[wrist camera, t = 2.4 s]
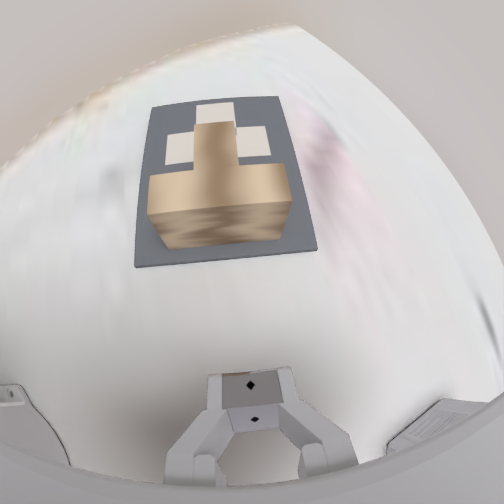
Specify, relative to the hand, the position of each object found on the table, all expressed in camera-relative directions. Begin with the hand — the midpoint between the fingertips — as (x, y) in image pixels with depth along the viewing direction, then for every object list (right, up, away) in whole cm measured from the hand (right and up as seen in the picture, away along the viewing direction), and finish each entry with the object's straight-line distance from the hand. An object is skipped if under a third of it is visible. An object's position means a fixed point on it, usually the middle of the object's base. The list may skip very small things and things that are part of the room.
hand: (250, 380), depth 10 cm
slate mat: (-4, +16, +24) cm, 30 cm away
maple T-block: (-4, +10, +22) cm, 24 cm away
